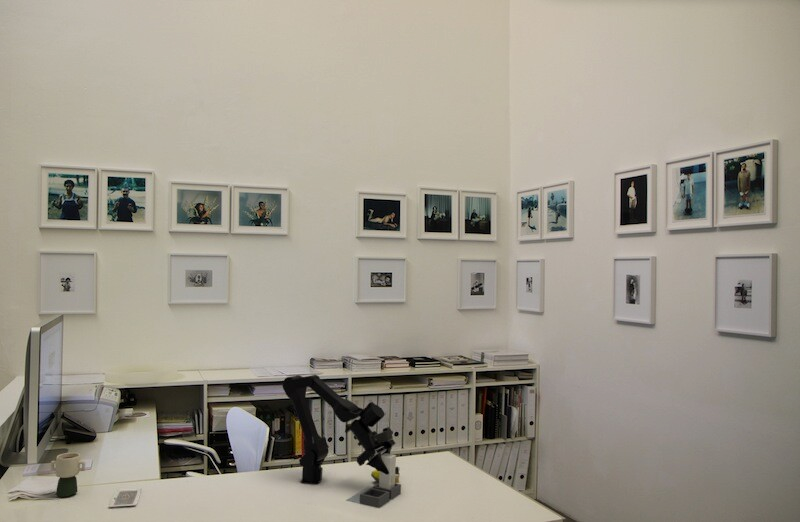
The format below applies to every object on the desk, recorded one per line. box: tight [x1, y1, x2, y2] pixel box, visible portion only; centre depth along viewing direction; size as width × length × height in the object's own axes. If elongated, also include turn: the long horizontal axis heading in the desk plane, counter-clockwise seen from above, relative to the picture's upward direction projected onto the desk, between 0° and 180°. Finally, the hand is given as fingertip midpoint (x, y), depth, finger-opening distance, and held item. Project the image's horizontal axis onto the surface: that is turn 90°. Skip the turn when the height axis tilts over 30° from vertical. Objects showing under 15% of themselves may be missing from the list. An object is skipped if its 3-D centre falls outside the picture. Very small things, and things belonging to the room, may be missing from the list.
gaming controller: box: [371, 466, 401, 484], centre depth 232 cm, size 15×6×10 cm
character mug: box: [50, 452, 86, 498], centre depth 207 cm, size 11×7×13 cm, turn 95°
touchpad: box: [108, 488, 143, 508], centre depth 205 cm, size 8×15×2 cm, turn 15°
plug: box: [379, 453, 397, 489], centre depth 215 cm, size 4×4×12 cm
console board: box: [345, 482, 402, 509], centre depth 213 cm, size 13×16×4 cm
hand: (391, 472), depth 215 cm, fingers closed on plug, 4 cm apart
